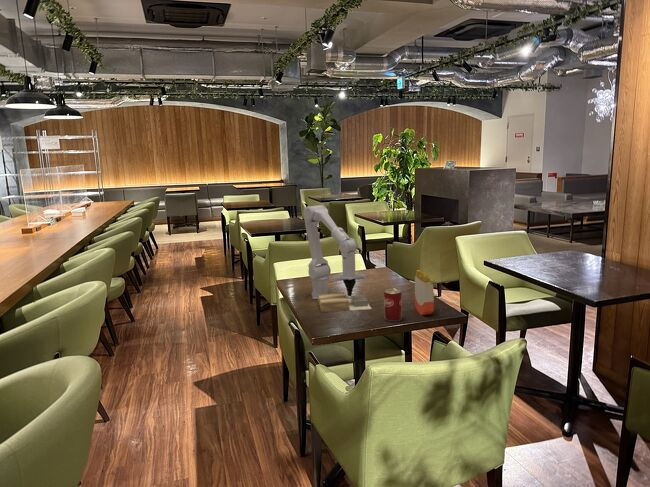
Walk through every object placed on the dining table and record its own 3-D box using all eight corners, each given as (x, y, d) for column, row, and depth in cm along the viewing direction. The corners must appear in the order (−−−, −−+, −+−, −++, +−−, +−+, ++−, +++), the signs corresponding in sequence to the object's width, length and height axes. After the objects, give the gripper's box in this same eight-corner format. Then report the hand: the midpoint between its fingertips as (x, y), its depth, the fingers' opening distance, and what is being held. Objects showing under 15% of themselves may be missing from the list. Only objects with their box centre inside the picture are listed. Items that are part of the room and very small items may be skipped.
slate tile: (363, 294, 226) (364, 300, 226) (351, 295, 225) (351, 300, 226) (367, 300, 217) (368, 306, 218) (354, 301, 217) (354, 307, 217)
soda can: (388, 323, 197) (388, 294, 195) (381, 317, 204) (381, 289, 201) (404, 320, 199) (404, 292, 197) (397, 315, 206) (397, 287, 203)
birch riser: (318, 302, 227) (318, 294, 226) (343, 300, 228) (343, 292, 227) (321, 312, 213) (321, 303, 212) (348, 310, 214) (348, 301, 213)
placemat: (344, 300, 229) (344, 299, 229) (364, 298, 230) (364, 297, 230) (350, 310, 213) (350, 310, 213) (371, 309, 214) (371, 308, 214)
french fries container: (424, 308, 213) (424, 268, 210) (434, 316, 203) (434, 274, 200) (414, 309, 213) (414, 269, 209) (424, 317, 202) (424, 275, 199)
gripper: (334, 269, 213) (334, 299, 216) (366, 267, 215) (367, 296, 217) (331, 265, 220) (332, 294, 222) (363, 263, 222) (364, 292, 224)
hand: (349, 295), depth 220 cm, fingers closed
